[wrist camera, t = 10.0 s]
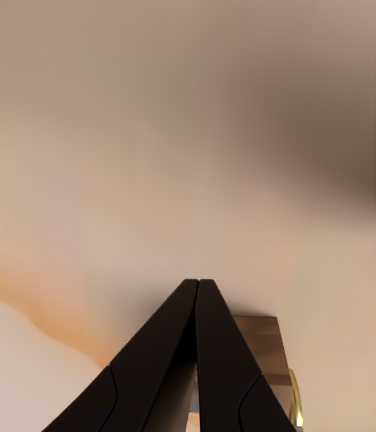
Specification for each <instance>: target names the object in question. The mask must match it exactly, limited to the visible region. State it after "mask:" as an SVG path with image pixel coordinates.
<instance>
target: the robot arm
mask: <svg viewBox="0 0 376 432" xmlns="http://www.w3.org/2000/svg"><path fill="white" fill-rule="evenodd" d="M109 365H110V366H109ZM109 365H107V366H106V367H105V368H104V369H103V370H102V371H101V373H100V374H99V375H98V376H97V377H96V378H95V379H94V380H93V381H92V382H91V383H90V384H89V385H88V387H87V388H86V389H85V390H84V391H83V392H82V393H81V394H80V395H79V396H78V397H77V398H76V399H75V400H74V401H73V402H72V403H71V404H70V405H69V406H68V407H67V408H66V409H65V410H64V411H63V412H62V413H61V414H60V415H59V416H58V417H56V419H54V420H53V421H52V422H51V423H50V424H49V425H48V426H47V427H46V428H45V429H44V430H43V431H42V432H186V425H187V420H188V415H189V409H190V403H191V397H192V392H193V386H194V380H195V374H196V369H197V376H198V395H199V415H200V432H297V430H296V428H295V427H294V425H293V424H292V422H291V421H290V419H289V418H288V416H287V414H286V413H285V411H284V409H283V408H282V406H281V404H280V402H279V401H278V399H277V397H276V395H275V393H274V392H273V390H272V388H271V386H270V384H269V382H268V381H267V379H266V377H265V375H263V372H262V370H261V368H260V366H259V364H258V362H257V360H256V358H255V356H254V355H253V353H252V351H251V349H250V347H249V345H248V343H247V341H246V339H245V338H244V336H243V334H242V332H241V330H240V328H239V326H238V324H237V322H236V321H235V319H234V317H233V315H232V313H231V311H230V309H229V307H228V305H227V304H226V302H225V300H224V298H223V296H222V294H221V292H220V290H219V289H218V287H217V285H216V283H215V281H214V280H213V279H201V280H200V281H199V280H198V279H185V280H184V281H183V282H182V283H181V284H180V285H179V286H178V287H177V288H176V289H175V291H174V292H173V293H172V294H171V295H170V296H169V297H168V298H167V299H166V301H165V302H164V303H163V304H162V305H161V306H160V307H159V308H158V309H157V311H156V312H155V313H154V314H153V315H152V316H151V317H150V318H149V319H148V321H147V322H146V323H145V324H144V325H143V326H142V327H141V328H140V329H139V331H138V332H137V333H136V334H135V335H134V336H133V337H132V338H131V339H130V341H129V342H128V343H127V344H126V345H125V346H124V347H123V348H122V349H121V351H120V352H119V353H118V354H117V355H116V356H115V357H114V358H113V359H112V361H111V362H110V363H109Z"/></svg>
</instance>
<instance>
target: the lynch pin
mask: <svg viewBox="0 0 376 432" xmlns="http://www.w3.org/2000/svg"><path fill="white" fill-rule="evenodd" d="M289 373H290V377H291V381H292V386H293V387H292V395H291V402H290V410H289V417H288V418H289V419H290V421H291V422H292V424H293V425H294V427H295V428H296V430H297V432H303V417H302V407H301V400H300V394H299V389H298V385H297V381H296V377H295V375H294V372H293V370H292V369H291V368H289ZM189 412H192V413H199V395H198V383H197V382H194V386H193V392H192V397H191V403H190V409H189Z"/></svg>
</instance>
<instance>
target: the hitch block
mask: <svg viewBox="0 0 376 432" xmlns="http://www.w3.org/2000/svg"><path fill="white" fill-rule="evenodd" d="M233 317H234V319H235V321H236V322H237V324H238V326H239V328H240V330H241V332H242V334H243V336H244V338H245V339H246V341H247V343H248V345H249V347H250V349H251V351H252V353H253V355H254V356H255V358H256V360H257V362H258V364H259V366H260V368H261V370H262V372H263V375H265V377H266V379H267V381H268V382H269V384H270V386H271V388H272V390H273V392H274V393H275V395H276V397H277V399H278V401H279V402H280V404H281V406H282V408H283V409H284V411H285V413H286V414H287V416H288V417H289V410H290V402H291V395H292V387H293V386H292V381H291V377H290V373H289V368H288V364H287V359H286V355H285V351H284V346H283V342H282V338H281V333H280V329H279V325H278V320H277V317H245V316H233Z"/></svg>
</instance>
